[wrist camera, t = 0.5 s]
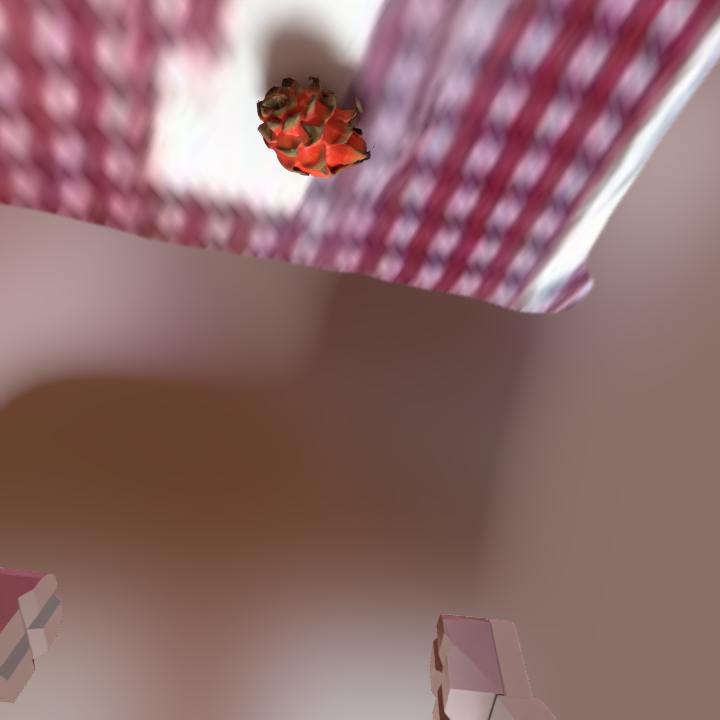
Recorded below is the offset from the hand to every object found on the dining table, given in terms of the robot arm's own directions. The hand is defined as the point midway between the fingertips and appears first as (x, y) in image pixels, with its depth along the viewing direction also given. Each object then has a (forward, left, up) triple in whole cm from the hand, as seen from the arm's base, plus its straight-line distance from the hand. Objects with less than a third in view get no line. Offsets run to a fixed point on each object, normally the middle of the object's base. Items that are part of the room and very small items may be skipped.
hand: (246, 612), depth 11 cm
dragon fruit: (+9, -8, -51) cm, 52 cm away
